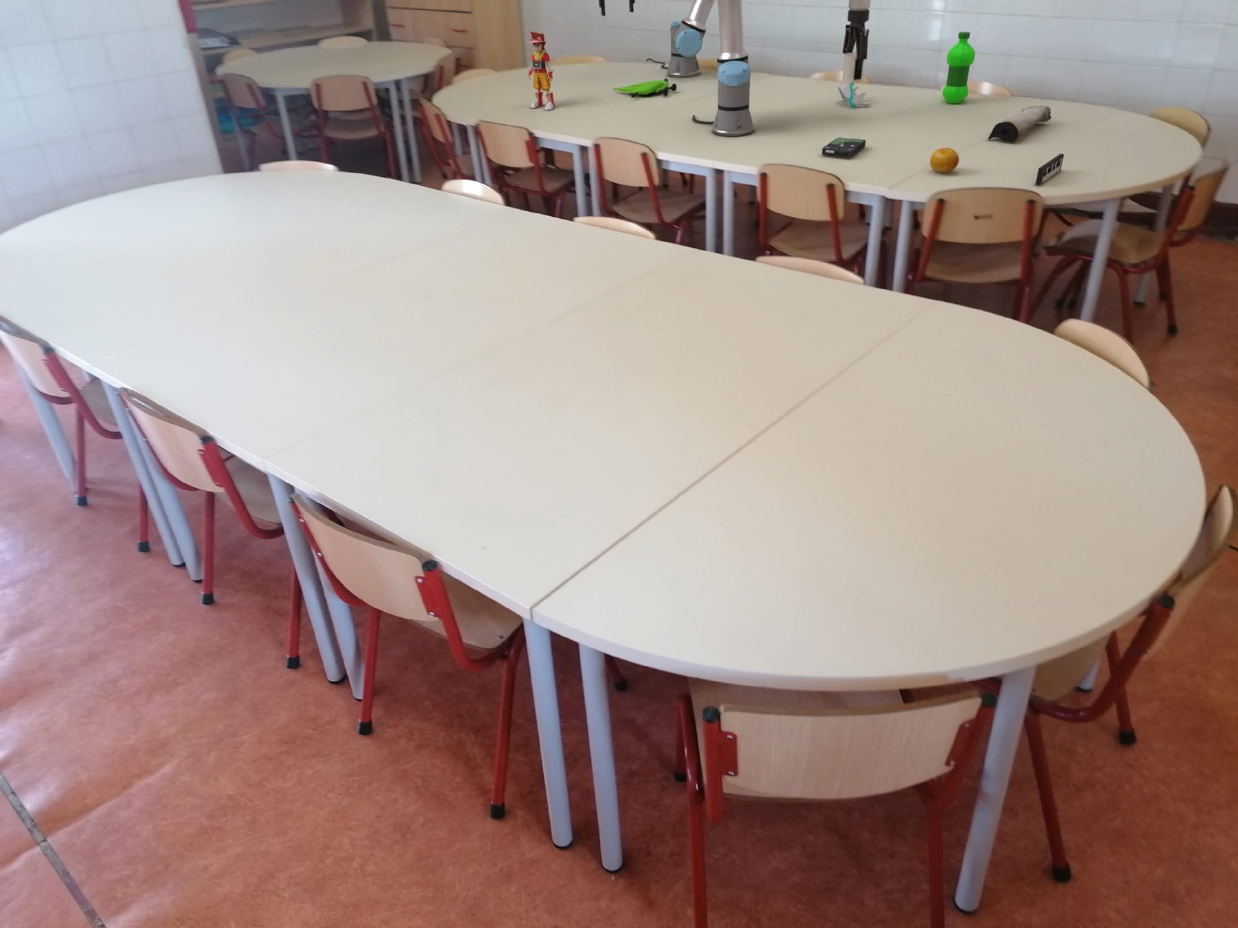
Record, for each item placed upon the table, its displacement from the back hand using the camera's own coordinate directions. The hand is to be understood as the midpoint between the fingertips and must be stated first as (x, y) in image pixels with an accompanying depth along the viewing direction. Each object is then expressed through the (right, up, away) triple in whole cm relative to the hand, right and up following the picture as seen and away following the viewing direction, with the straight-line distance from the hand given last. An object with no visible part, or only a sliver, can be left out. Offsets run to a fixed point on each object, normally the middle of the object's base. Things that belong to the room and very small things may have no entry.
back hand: (617, 14), depth 394 cm
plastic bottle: (+134, -55, -39) cm, 149 cm away
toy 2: (+10, -33, +3) cm, 35 cm away
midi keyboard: (+133, -110, -119) cm, 210 cm away
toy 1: (-32, -46, -11) cm, 57 cm away
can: (+88, -55, -59) cm, 119 cm away
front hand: (+88, -54, -60) cm, 119 cm away
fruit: (+104, -105, -109) cm, 184 cm away
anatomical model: (+95, -53, -33) cm, 113 cm away
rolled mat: (+142, -81, -77) cm, 181 cm away
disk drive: (+78, -91, -86) cm, 148 cm away
